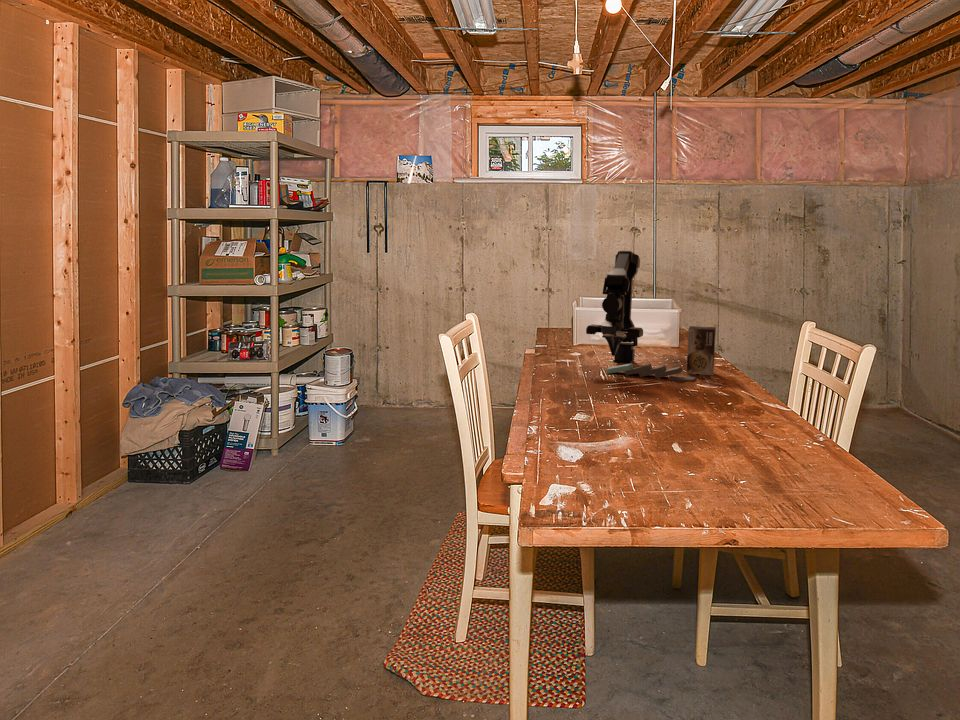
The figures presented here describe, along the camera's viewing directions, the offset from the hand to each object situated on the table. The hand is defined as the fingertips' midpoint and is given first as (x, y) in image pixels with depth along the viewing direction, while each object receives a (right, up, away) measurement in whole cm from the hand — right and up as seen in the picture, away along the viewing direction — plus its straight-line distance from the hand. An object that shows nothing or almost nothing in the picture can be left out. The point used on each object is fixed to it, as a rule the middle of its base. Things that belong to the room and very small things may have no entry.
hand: (613, 355), depth 268 cm
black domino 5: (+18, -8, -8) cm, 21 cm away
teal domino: (-1, -5, +2) cm, 5 cm away
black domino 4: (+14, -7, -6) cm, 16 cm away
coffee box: (+30, -6, +2) cm, 31 cm away
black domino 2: (+5, -6, -1) cm, 7 cm away
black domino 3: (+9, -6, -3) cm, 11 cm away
